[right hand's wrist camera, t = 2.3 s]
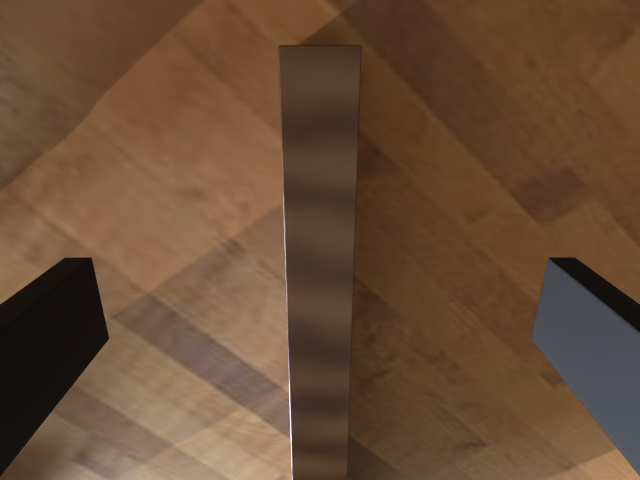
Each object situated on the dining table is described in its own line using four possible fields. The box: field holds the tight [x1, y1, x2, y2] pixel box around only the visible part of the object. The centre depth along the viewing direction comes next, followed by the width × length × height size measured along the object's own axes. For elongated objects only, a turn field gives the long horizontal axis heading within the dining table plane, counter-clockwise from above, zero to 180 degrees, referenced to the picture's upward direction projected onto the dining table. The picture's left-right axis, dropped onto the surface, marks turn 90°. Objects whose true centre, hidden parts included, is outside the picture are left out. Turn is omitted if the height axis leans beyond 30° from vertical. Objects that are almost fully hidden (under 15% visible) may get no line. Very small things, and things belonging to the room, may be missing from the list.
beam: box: [278, 45, 361, 480], centre depth 39 cm, size 52×5×8 cm, turn 0°
